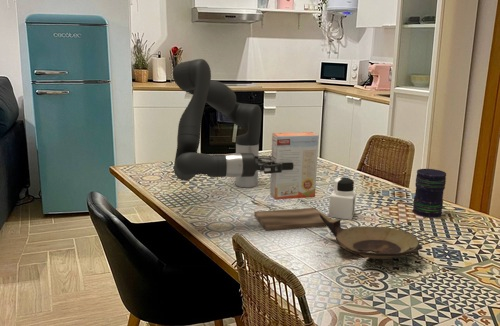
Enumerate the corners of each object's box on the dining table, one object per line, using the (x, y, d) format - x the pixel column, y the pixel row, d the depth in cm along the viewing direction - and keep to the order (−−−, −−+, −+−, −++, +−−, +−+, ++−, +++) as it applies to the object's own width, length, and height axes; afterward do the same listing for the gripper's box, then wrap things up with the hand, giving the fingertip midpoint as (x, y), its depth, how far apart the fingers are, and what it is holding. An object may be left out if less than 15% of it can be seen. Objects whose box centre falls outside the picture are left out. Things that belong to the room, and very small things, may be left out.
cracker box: (308, 192, 169) (312, 131, 164) (315, 198, 163) (319, 134, 158) (268, 194, 165) (271, 131, 160) (274, 200, 159) (277, 135, 154)
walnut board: (254, 216, 170) (254, 211, 169) (314, 211, 175) (314, 207, 175) (266, 230, 157) (266, 226, 156) (331, 225, 162) (331, 221, 162)
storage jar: (420, 206, 184) (425, 167, 180) (446, 213, 177) (451, 172, 174) (407, 212, 177) (411, 171, 174) (433, 219, 170) (438, 177, 167)
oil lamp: (378, 280, 126) (380, 251, 125) (306, 239, 151) (308, 215, 150) (437, 262, 138) (441, 236, 136) (362, 227, 163) (364, 204, 161)
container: (354, 213, 175) (357, 177, 172) (351, 220, 168) (354, 183, 165) (332, 210, 178) (334, 174, 175) (328, 217, 171) (330, 180, 167)
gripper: (244, 158, 149) (298, 157, 153) (233, 148, 162) (283, 147, 167) (244, 183, 151) (296, 180, 155) (233, 170, 164) (282, 169, 169)
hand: (289, 163), depth 161 cm, fingers closed on cracker box, 6 cm apart
